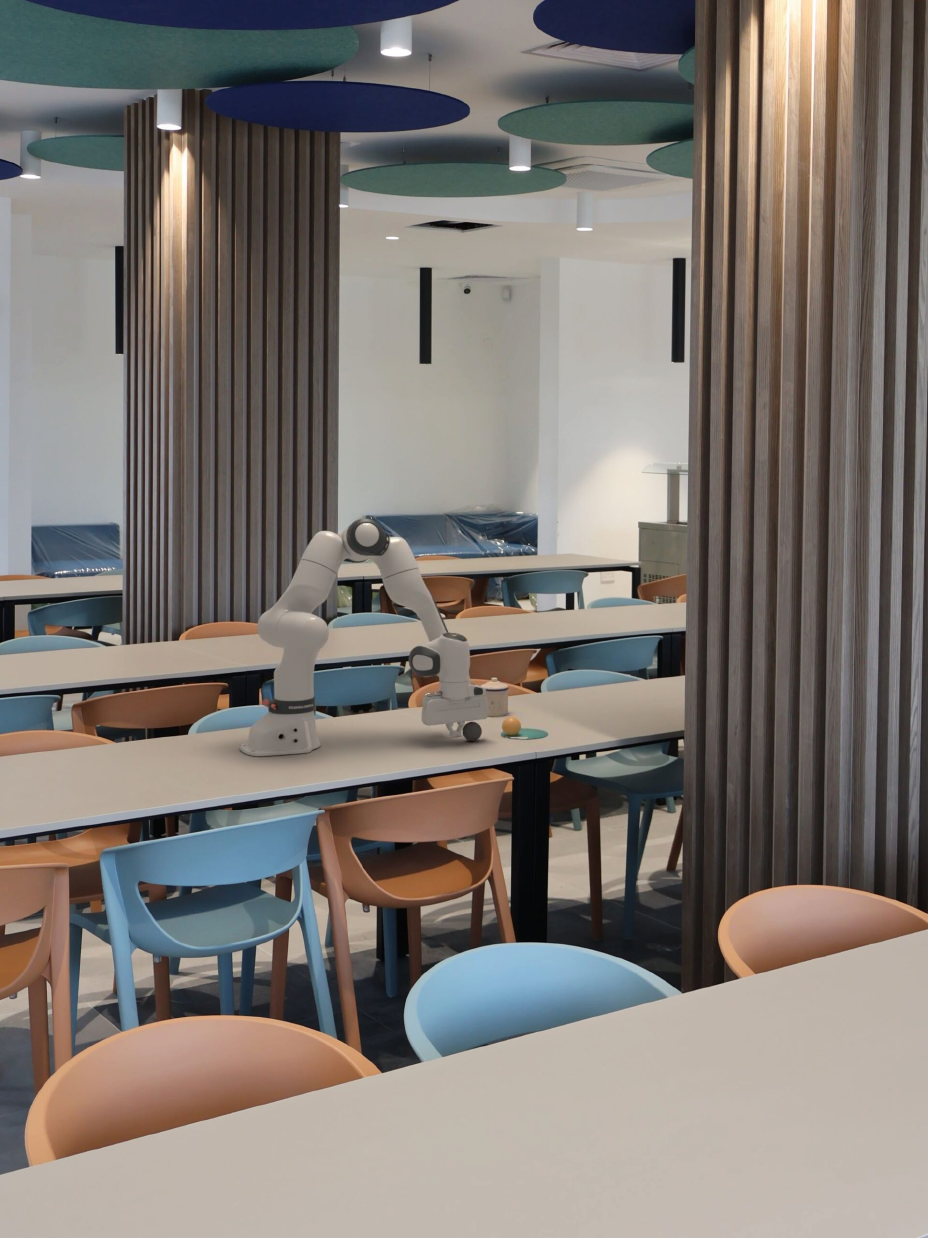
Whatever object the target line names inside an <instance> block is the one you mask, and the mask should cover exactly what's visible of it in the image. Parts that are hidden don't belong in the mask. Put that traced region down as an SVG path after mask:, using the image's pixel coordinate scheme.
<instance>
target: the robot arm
mask: <svg viewBox="0 0 928 1238" xmlns="http://www.w3.org/2000/svg"><path fill="white" fill-rule="evenodd" d="M368 560H370V561H372V562H373V563H374V564H375V565H376V567H377V568H378V570H379V573H380V577H381V579H382V583H383V587H384V589H385V591H386V593H387V595H388V598H390V600H391V601H392V602H393V603H395V604H397V605H399V606H403V607H405V608H408V609H409V610H410V611H412V612H414V613H415V614H416V615H417V617H418V618H419V620H420V622H421V625H422V628H423V629H424V632H425V634H426V636H427V638H428V642H424V643H422V644H418V645H416V646H415V647H413V648H412V649H411V650H410V652H409V655H408V665H409V668H410V670H411V671H412V672H413V674H414V675H416V676H418V677H419V678H429V677H433V676H437V677H438V678H439V679H438V680H439V682H438V683H439V688H438V689H439V691H434V692H427V693H426V694H424V695H423V696H422V698H421V706H422V707H421V708H422V709H421V716H420V717H421V718H420V719H421V722H422V724H423V725H425V726H428V727H429V726H430V727H431V726H438V725H445V727H446V729H447V730H448V732H449V736H448V737H449V738H450V739H456V738H462V731H463V727H464V726H465V722H474V721H480V720H486V719H487V718H488V717H489V716H488V713H489V712H488V701H487V698H486V696H484V695H485V694H486V689H485V688H484V687H481V685H478V684H475V683H472V682H471V677H470V672H469V671H470V667H471V654H470V653H471V652H470V645H469V640H468V639H467V638H466V637H465V636H464V635H462V634H460V633H456V632H449V629H448V628H447V624H445V621H444V619H443V617H442V614H441V611H440V609H439V607H438V605H437V602H436V599H434V596H433V595H432V594H431V592H430V590H429V589H428V587H427V585H426V584H425V581H424V580H423V577H422V574H421V571H420V568H419V566H418V563H417V561H416V558H415V555H414V553H413V551H412V549H411V547H410V545H409V544H408V541H406V539H405V538H403V537H400V536H391V537H390V534H388V532H387V531H385V530H384V529H383V528H382V526H380V525H379V523H377V522H376V521H375V520H373V519H371V518H358V519H356V520H354V521H353V522H352V523H351V524H349V525H348V526H347V527H346V528H345V529H344V530H343V531H342V532H341V533H335V532H333V531H329V530H321V531H319V532H317V533H315V534H314V535H313V537H312V539H311V540H310V542H309V543H308V544H307V547H306V549H305V550H304V552H303V554H302V557H300V561H299V563H298V566H297V567H296V570H295V572H294V574H293V577H292V580H291V581H290V583H289V585H288V586H287V588H286V590H285V591H284V592H283V594H282V595H281V596H280V598H279V599H278V600H277V601H276V602H275V604H274V605H272V607H270V608H269V609H268V610H266V611H265V612H264V613H262V614H261V616H260V617H259V618H258V622H257V627H256V628H257V629H256V630H257V633H258V636H259V637H260V639H261V640H262V641H264V642H266V643H267V644H268V645H271V646H273V647H275V648H281V649H282V650H283V653H282V658H281V661H280V664H279V665H278V666H277V667H275V670H274V671H273V684H274V685H273V687H274V688H273V692H274V693H273V694H274V697H273V698H272V699H271V700H270V699H267V698H265V699H263V701H262V706H263V707H266V708H267V709H268V712H266V713H265V714H264V715H263V716H262V717H261V718H259V720H257V721H256V722H255V723H253V724H252V725H251V727H250V729H249V731H248V737H247V742H245V743H241V745H240V748H239V749H240V751H241V752H242V753H243V754H246V755H248V756H251V757H252V756H253V757H267V756H268V757H269V756H270V757H271V756H282V755H297V754H307V753H308V754H309V753H310V752H312V751H313V750H315V749H319V747H320V746H322V745H321V742H320V738H319V734H318V730H317V723H316V714H317V704H316V703H317V702H316V696H314V689H315V688H314V684H315V683H314V673H315V665H316V662H317V658H318V655H319V652H320V651H321V649H322V648H324V647H325V646H326V644H327V642H328V640H329V634H330V633H329V626H328V624H327V622H326V621H325V620H324V619H323V618H321V617H319V616H317V615H315V614H313V612H314V610H315V609H317V607H318V606H320V605H322V604H323V603H325V601H326V600H327V599H328V597H329V594H330V591H331V589H332V587H333V584H334V583H335V580H336V577H337V575H338V573H339V569H340V567H341V566H342V564H343V562H347V563H353V564H355V563H356V564H358V563H360V564H361V563H364V562H366V561H368ZM454 723H456V724H457V728H456V730H454V729H453V727H454Z"/></svg>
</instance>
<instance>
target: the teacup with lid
mask: <svg viewBox="0 0 928 1238" xmlns="http://www.w3.org/2000/svg"><path fill="white" fill-rule="evenodd" d="M480 686H481V687H484V688H485V689H486V694H485V695H484V696H486V698H487V701H488V712H489V713H488V717H493V718H494V717H496V718H497V717H504V716H506V715H508V713H509V685H508V684H506V683H503V682H502V681H500V680H498V678H497V677H491V679H490V680H489V681H487V682H485V683H484V684H481V685H480Z"/></svg>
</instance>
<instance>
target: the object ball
mask: <svg viewBox="0 0 928 1238" xmlns="http://www.w3.org/2000/svg"><path fill="white" fill-rule="evenodd" d="M501 728H502V732H504V733H505V734H506V735H509V736H515V735H517V734H518V733H519V732H520V730H521V728H522V723H521V722H520V720H519V719H518V718H516V717H515V716H508V717H507V718H505V719H504V720H503V721H502V724H501Z"/></svg>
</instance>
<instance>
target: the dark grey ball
mask: <svg viewBox="0 0 928 1238" xmlns="http://www.w3.org/2000/svg"><path fill="white" fill-rule="evenodd" d="M461 733H462V735H463V737H464V739H466V740H467V741H469V742H474V741H475V742H476V741H477V740H479V739H480V738H481V736H482V733H483V731H482V726H481V724H479V723H477V722H475V721H467V722H466V724H465V726H464V727H463V729H462V731H461Z"/></svg>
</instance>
